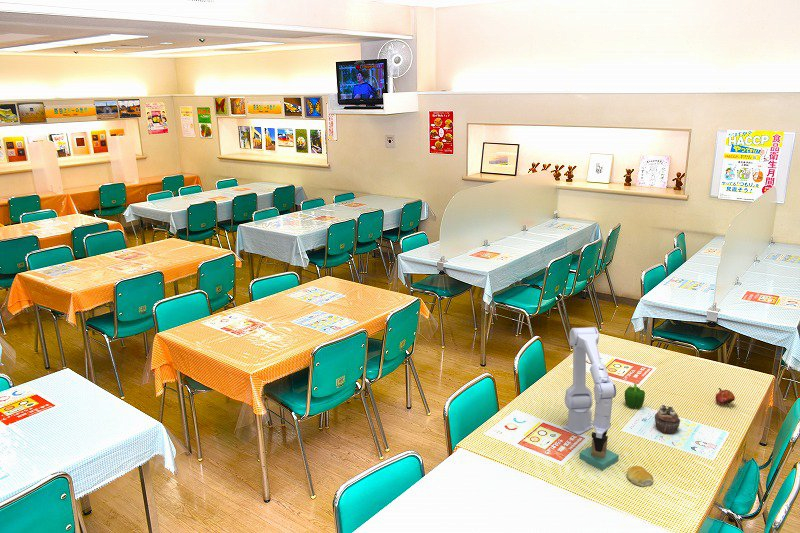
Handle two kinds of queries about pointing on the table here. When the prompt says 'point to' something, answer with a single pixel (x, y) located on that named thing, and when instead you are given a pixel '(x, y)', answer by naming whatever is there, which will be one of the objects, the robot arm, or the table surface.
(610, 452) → the teal base
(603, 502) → the table surface
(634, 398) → the bell pepper
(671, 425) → the cupcake
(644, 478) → the bread roll
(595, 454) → the walnut block
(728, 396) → the pomegranate
